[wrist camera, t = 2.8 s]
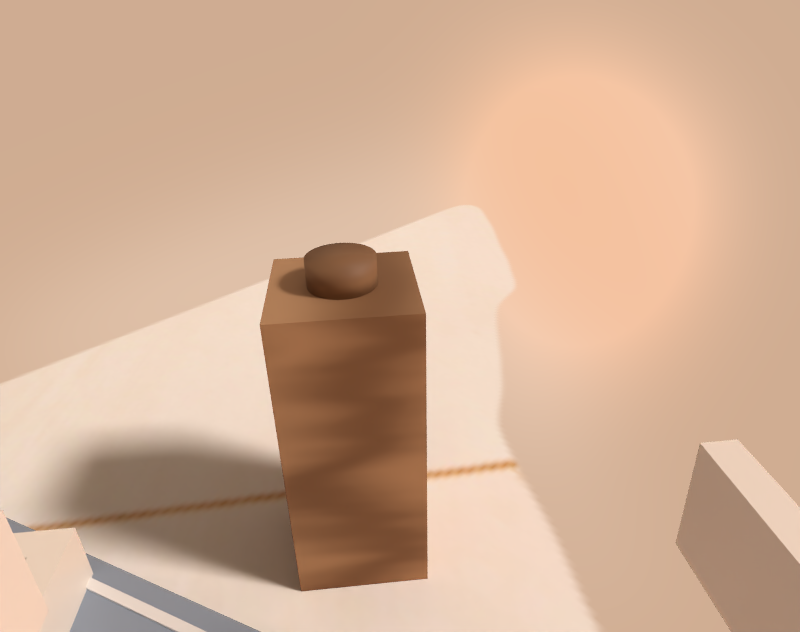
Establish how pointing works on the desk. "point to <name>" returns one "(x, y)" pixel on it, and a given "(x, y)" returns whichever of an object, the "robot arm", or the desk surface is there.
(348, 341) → the pillar
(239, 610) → the desk surface
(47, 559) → the socket collar
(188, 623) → the board
